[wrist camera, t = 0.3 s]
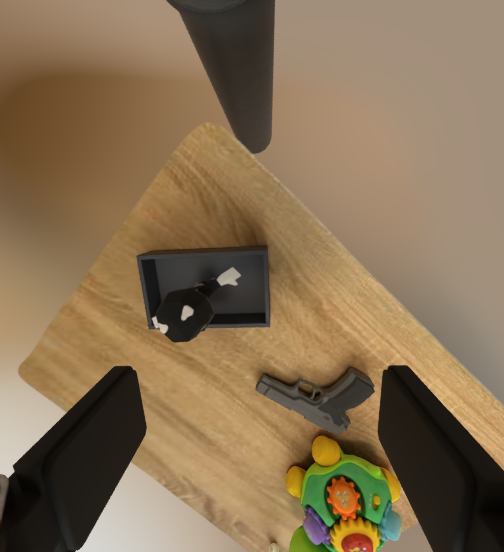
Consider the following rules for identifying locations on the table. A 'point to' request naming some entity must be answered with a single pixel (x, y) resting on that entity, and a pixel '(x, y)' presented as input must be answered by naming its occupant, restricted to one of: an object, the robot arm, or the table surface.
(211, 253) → the dark grey open box
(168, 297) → the toy
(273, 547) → the figurine
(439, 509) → the robot arm
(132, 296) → the table surface
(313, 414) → the handgun
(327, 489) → the turtle toy
